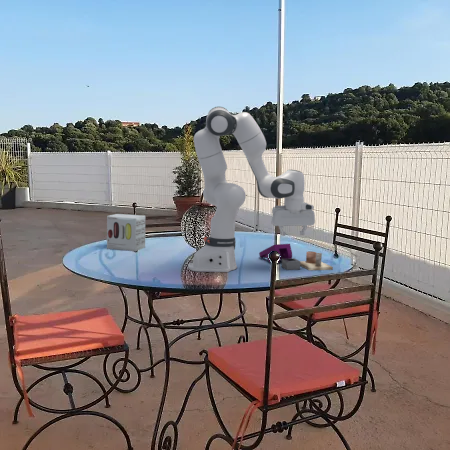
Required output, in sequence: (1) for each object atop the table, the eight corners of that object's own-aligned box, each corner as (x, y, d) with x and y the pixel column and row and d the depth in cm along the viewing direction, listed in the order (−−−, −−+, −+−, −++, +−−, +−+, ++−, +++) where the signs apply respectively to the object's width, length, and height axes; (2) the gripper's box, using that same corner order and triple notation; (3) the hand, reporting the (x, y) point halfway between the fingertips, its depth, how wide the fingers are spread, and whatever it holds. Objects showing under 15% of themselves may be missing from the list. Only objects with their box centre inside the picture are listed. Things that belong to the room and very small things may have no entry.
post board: (308, 270, 210) (309, 254, 209) (296, 263, 223) (297, 249, 222) (332, 269, 213) (333, 254, 212) (319, 263, 226) (320, 248, 225)
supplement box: (106, 249, 246) (105, 215, 243) (117, 245, 258) (117, 213, 256) (135, 251, 242) (136, 217, 239) (145, 247, 254) (146, 215, 252)
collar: (286, 270, 209) (287, 261, 208) (281, 266, 215) (281, 258, 215) (299, 269, 211) (300, 261, 210) (294, 266, 217) (294, 258, 216)
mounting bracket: (258, 270, 233) (277, 261, 218) (255, 254, 236) (273, 244, 220) (274, 268, 238) (293, 260, 222) (271, 253, 240) (290, 243, 225)
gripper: (274, 206, 203) (273, 236, 205) (317, 206, 208) (315, 236, 210) (270, 204, 210) (269, 234, 211) (311, 204, 214) (309, 233, 216)
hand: (292, 235), depth 211 cm, fingers open, 8 cm apart
